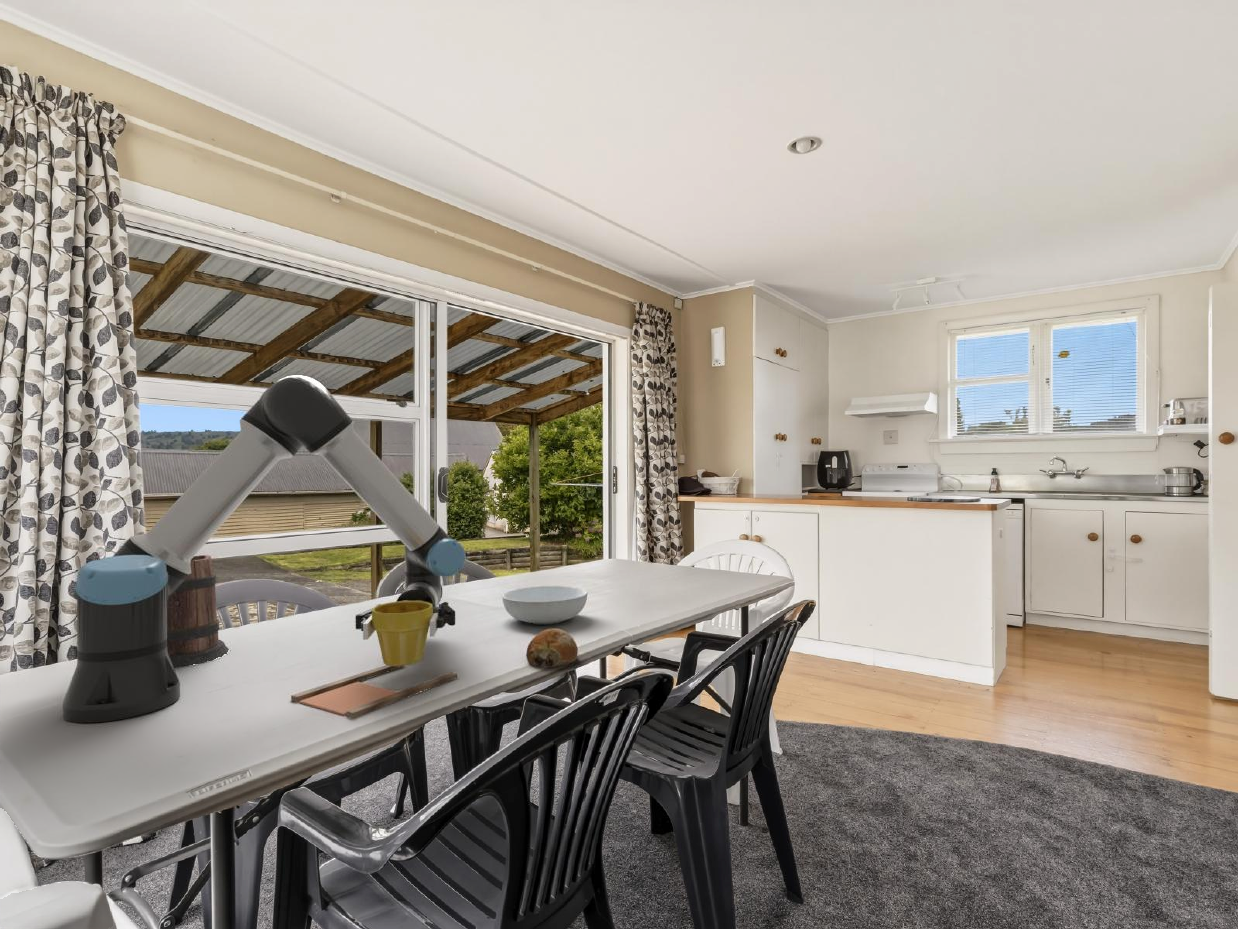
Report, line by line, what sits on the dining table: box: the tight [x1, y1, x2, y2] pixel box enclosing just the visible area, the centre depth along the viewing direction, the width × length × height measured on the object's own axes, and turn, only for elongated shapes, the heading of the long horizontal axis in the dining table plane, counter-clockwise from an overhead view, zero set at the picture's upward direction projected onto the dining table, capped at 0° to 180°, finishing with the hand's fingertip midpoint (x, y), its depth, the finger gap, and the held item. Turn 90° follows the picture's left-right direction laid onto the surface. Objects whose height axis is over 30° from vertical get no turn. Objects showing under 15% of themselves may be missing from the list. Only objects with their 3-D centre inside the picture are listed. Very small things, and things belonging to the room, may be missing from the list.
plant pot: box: [371, 601, 433, 667], centre depth 120 cm, size 10×10×10 cm
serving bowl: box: [501, 585, 588, 625], centre depth 165 cm, size 21×21×7 cm
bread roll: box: [525, 628, 579, 668], centre depth 131 cm, size 10×10×8 cm
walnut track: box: [290, 664, 459, 719], centre depth 115 cm, size 22×16×1 cm
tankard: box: [167, 554, 230, 669], centre depth 138 cm, size 24×17×20 cm
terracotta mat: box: [299, 681, 398, 716], centre depth 110 cm, size 11×11×1 cm
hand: (398, 630), depth 116 cm, fingers closed on plant pot, 10 cm apart
